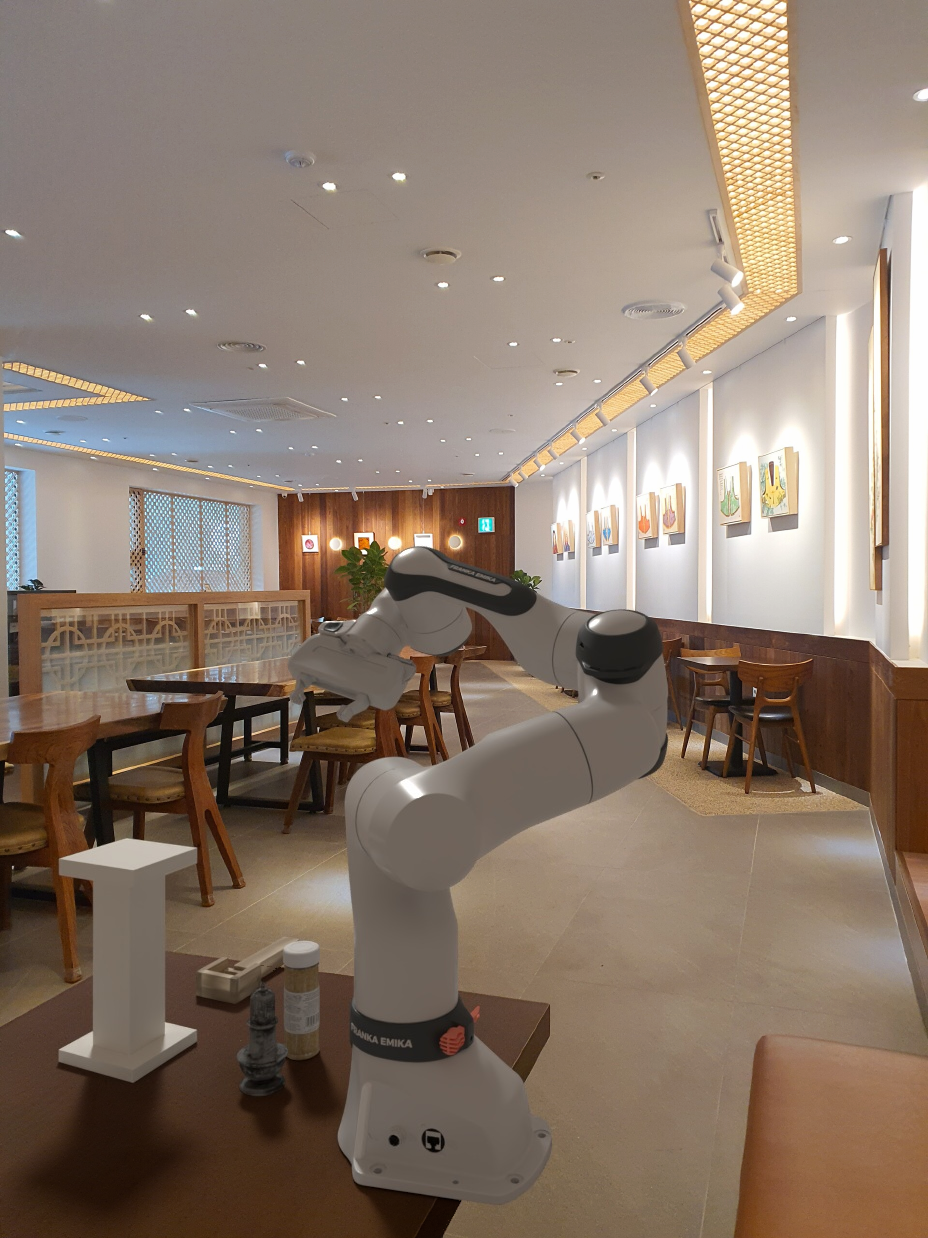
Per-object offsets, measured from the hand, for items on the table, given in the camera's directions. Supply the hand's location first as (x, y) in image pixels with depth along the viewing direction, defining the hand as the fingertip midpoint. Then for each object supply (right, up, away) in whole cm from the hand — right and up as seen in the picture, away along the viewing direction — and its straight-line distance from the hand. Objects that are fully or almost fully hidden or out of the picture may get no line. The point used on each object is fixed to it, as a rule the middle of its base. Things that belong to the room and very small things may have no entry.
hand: (316, 709), depth 132 cm
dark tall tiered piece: (-1, -41, -29) cm, 50 cm away
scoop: (-10, -41, +2) cm, 42 cm away
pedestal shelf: (-20, -41, -22) cm, 50 cm away
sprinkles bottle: (+2, -41, -22) cm, 47 cm away
